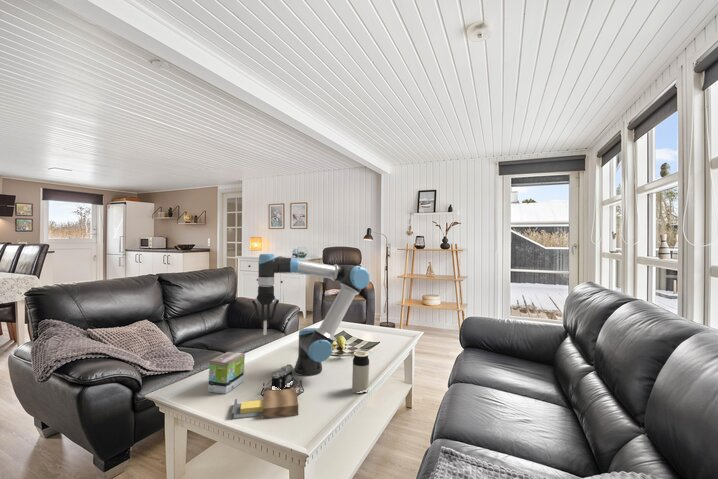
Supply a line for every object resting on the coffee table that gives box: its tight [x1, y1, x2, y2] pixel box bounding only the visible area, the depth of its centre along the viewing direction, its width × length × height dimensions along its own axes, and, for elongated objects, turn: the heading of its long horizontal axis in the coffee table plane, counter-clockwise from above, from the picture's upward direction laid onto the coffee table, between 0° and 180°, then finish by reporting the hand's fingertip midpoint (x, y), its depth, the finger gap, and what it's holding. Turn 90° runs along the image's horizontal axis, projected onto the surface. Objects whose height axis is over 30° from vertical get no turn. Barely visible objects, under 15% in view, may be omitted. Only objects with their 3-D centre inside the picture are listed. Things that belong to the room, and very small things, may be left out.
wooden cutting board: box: [262, 388, 299, 420], centre depth 142 cm, size 14×16×4 cm
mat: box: [231, 398, 263, 420], centre depth 139 cm, size 12×12×2 cm
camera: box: [271, 364, 295, 390], centre depth 162 cm, size 15×7×10 cm, turn 158°
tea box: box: [207, 351, 246, 395], centre depth 161 cm, size 15×10×15 cm, turn 168°
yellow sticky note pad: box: [240, 399, 264, 414], centre depth 139 cm, size 9×6×2 cm, turn 105°
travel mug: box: [351, 350, 370, 393], centre depth 161 cm, size 8×8×18 cm
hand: (265, 334), depth 160 cm, fingers closed
